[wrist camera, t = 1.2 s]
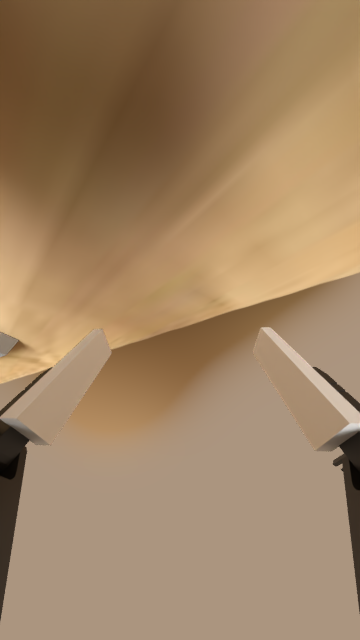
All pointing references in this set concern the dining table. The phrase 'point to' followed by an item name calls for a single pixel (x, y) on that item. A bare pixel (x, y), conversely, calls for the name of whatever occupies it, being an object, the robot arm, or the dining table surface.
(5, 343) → the tray
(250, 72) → the dining table surface
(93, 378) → the robot arm
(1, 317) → the dining table surface
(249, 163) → the dining table surface
